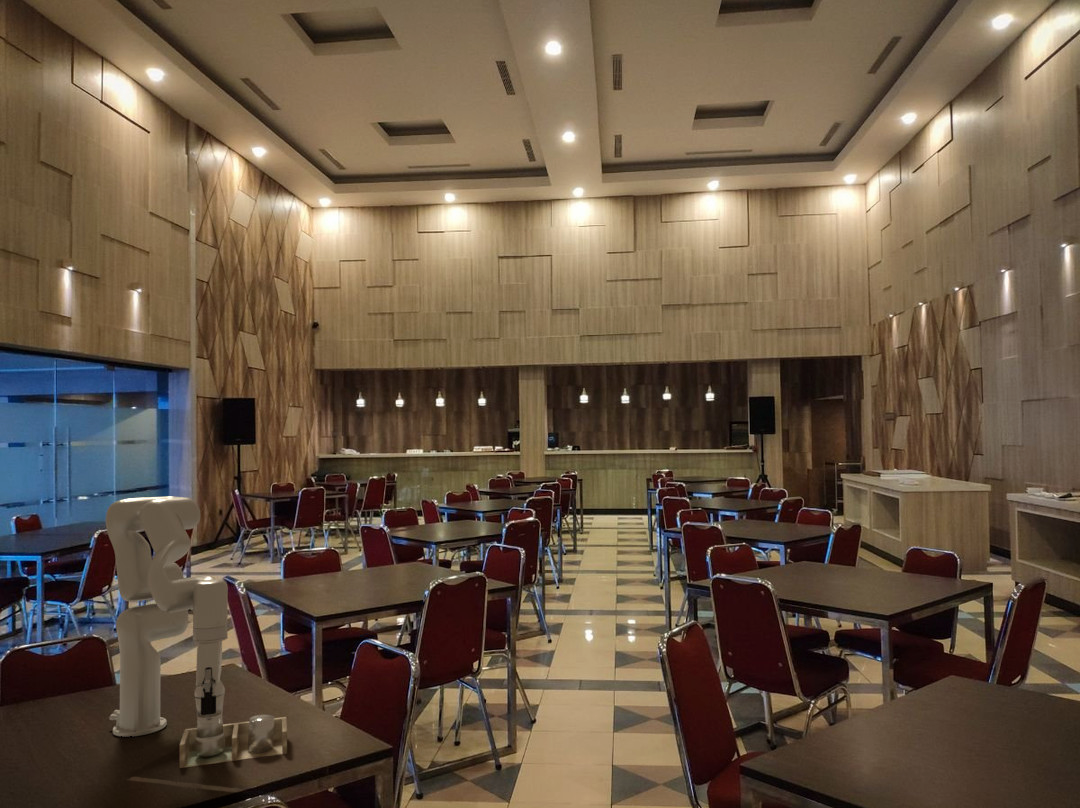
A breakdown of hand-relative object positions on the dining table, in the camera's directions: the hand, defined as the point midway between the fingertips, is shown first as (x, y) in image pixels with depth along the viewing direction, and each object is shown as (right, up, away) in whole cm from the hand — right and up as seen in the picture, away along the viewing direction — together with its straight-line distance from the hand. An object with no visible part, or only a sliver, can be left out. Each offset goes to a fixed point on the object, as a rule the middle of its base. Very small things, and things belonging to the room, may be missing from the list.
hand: (210, 707), depth 185 cm
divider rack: (+5, -12, +2) cm, 13 cm away
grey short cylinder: (+11, -11, +3) cm, 15 cm away
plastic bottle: (0, -11, 0) cm, 11 cm away
